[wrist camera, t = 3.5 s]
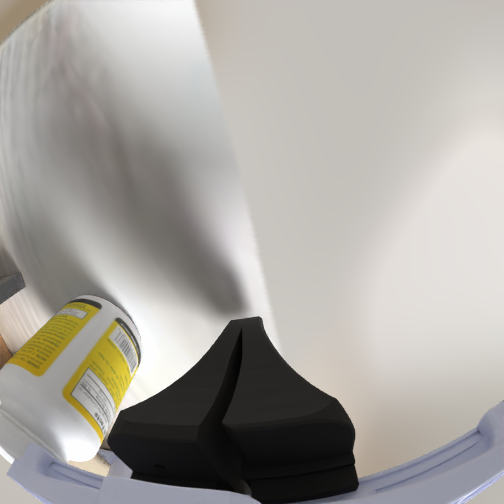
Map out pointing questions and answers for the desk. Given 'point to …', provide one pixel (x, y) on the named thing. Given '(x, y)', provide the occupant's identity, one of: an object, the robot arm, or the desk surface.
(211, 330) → the desk surface
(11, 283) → the bracket
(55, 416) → the supplement bottle
